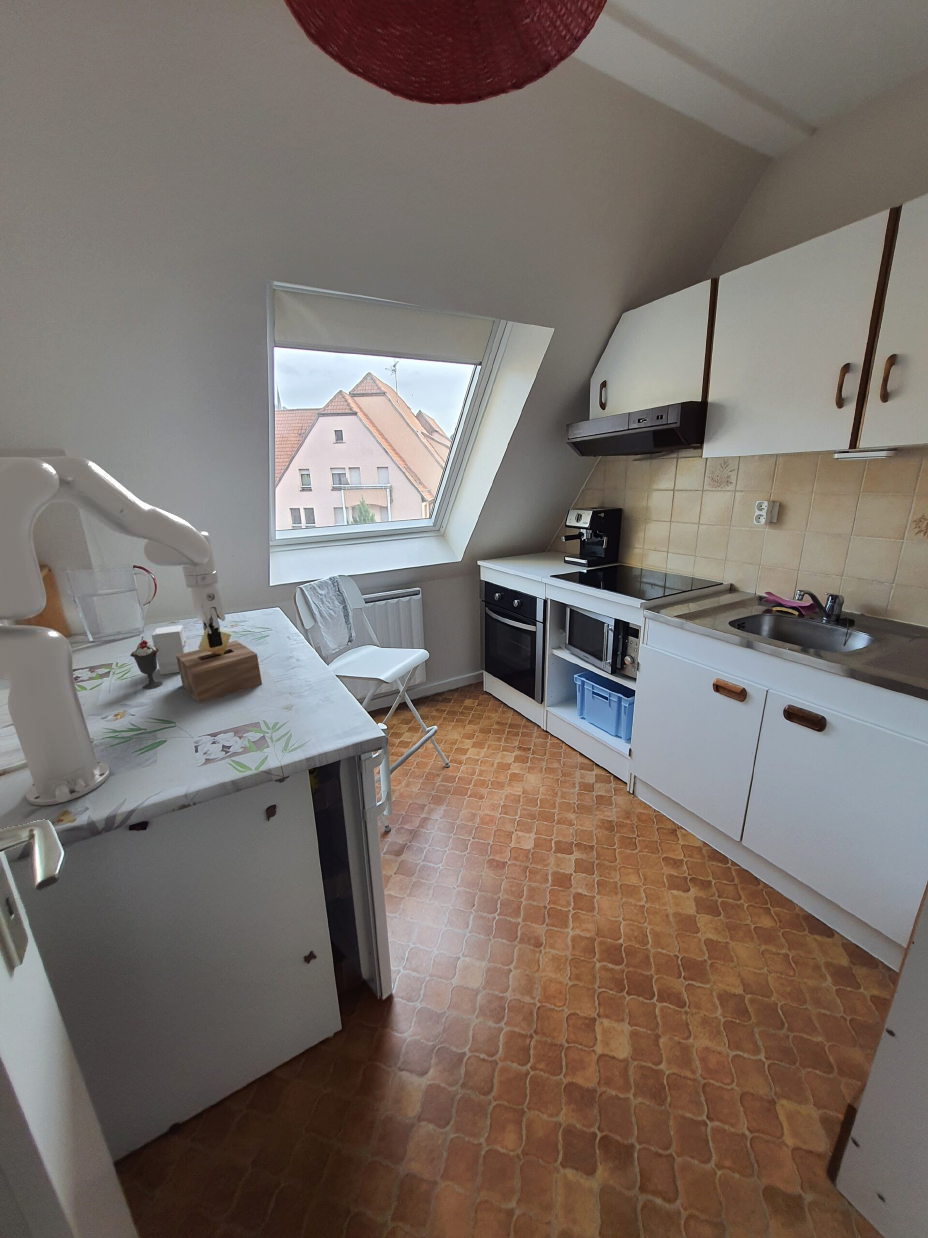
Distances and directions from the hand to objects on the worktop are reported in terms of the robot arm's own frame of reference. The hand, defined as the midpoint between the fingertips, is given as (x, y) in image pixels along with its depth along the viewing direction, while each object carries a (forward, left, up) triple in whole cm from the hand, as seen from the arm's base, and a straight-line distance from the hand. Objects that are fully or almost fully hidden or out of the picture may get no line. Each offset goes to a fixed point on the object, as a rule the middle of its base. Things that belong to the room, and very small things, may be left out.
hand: (214, 645), depth 130 cm
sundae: (+14, +14, -12) cm, 23 cm away
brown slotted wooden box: (0, 0, -12) cm, 12 cm away
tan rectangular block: (0, -3, 0) cm, 3 cm away
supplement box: (+23, +6, -12) cm, 27 cm away
